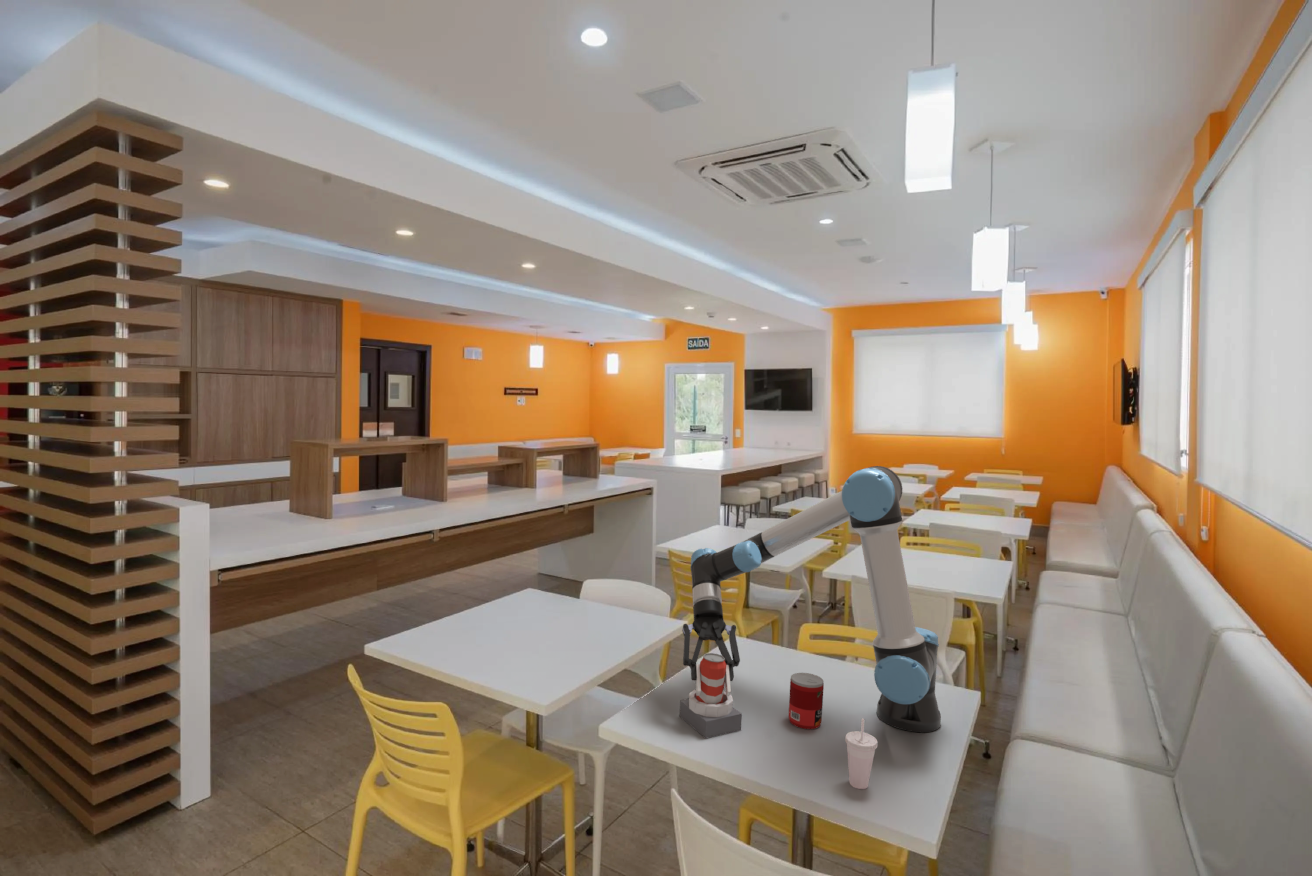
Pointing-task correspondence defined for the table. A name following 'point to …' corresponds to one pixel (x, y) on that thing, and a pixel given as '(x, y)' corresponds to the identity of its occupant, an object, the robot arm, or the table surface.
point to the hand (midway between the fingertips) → (713, 693)
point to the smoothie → (860, 757)
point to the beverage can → (712, 678)
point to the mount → (710, 715)
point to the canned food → (806, 700)
